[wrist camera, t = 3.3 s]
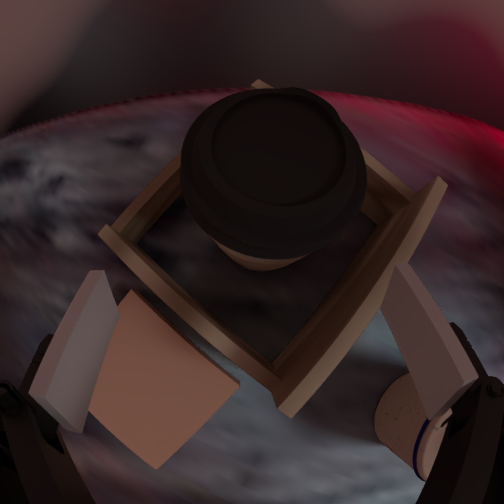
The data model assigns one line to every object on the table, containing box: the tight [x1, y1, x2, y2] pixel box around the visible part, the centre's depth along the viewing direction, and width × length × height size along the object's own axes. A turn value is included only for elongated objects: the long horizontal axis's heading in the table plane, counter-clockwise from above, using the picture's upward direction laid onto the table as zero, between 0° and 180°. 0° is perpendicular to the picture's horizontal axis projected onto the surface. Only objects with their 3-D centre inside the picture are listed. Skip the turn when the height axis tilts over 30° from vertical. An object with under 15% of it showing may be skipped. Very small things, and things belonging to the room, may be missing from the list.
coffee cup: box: [180, 87, 367, 272], centre depth 19 cm, size 9×9×15 cm
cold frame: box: [98, 79, 448, 418], centre depth 21 cm, size 18×18×10 cm
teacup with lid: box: [374, 372, 452, 482], centre depth 17 cm, size 12×9×12 cm
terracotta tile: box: [88, 289, 240, 470], centre depth 22 cm, size 12×12×2 cm
